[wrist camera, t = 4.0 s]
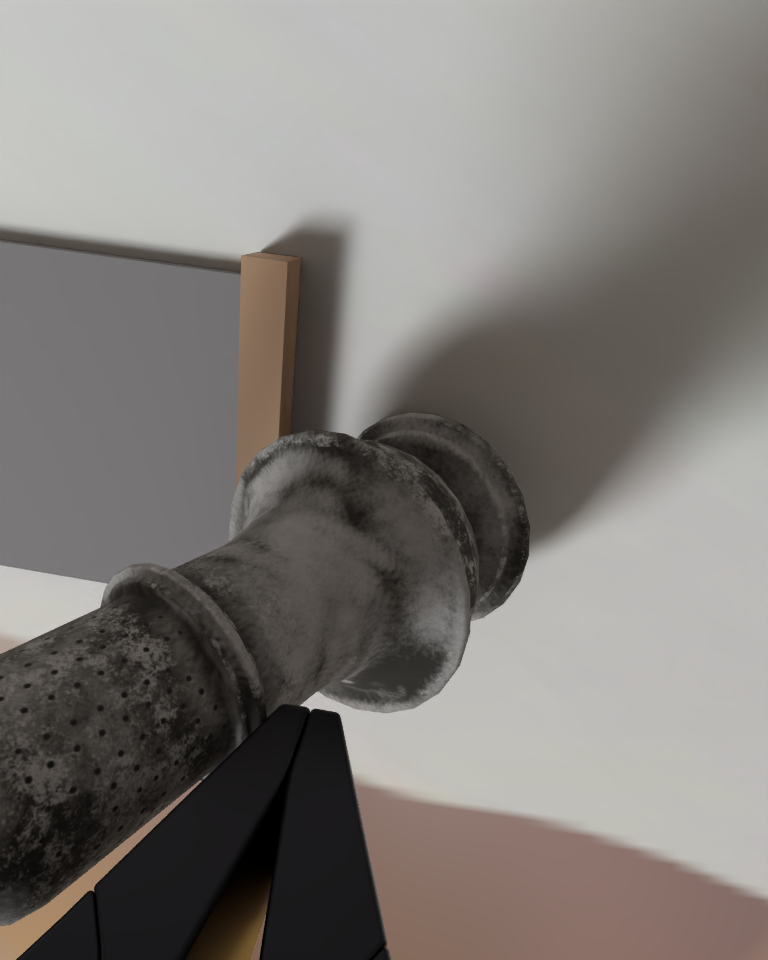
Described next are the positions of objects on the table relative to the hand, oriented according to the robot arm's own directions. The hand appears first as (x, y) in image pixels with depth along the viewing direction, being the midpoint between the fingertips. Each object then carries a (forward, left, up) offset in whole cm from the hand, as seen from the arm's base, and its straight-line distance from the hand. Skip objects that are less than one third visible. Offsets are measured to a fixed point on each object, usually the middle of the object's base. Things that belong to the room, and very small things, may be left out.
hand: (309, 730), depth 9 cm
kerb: (+3, 0, -8) cm, 9 cm away
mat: (+9, -1, -8) cm, 12 cm away
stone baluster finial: (-1, 0, -7) cm, 7 cm away
